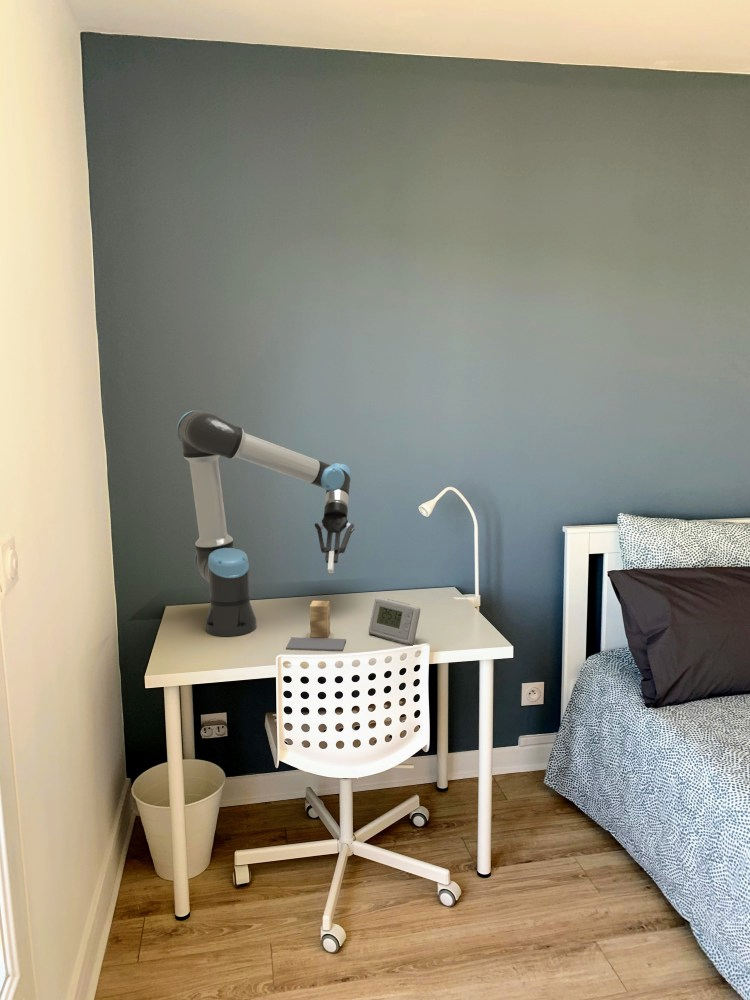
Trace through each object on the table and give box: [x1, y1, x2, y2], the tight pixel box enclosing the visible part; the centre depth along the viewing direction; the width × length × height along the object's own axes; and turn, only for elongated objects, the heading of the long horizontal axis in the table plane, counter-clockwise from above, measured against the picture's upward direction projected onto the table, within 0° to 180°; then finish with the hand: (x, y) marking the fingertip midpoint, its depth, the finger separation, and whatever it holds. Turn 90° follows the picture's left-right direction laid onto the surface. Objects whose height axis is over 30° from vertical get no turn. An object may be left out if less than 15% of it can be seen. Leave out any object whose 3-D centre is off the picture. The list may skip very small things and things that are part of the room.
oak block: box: [309, 600, 331, 638], centre depth 225 cm, size 5×5×10 cm
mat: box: [285, 637, 347, 652], centre depth 220 cm, size 16×8×1 cm, turn 85°
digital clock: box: [368, 596, 421, 645], centre depth 224 cm, size 16×9×11 cm, turn 41°
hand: (330, 571), depth 237 cm, fingers closed
